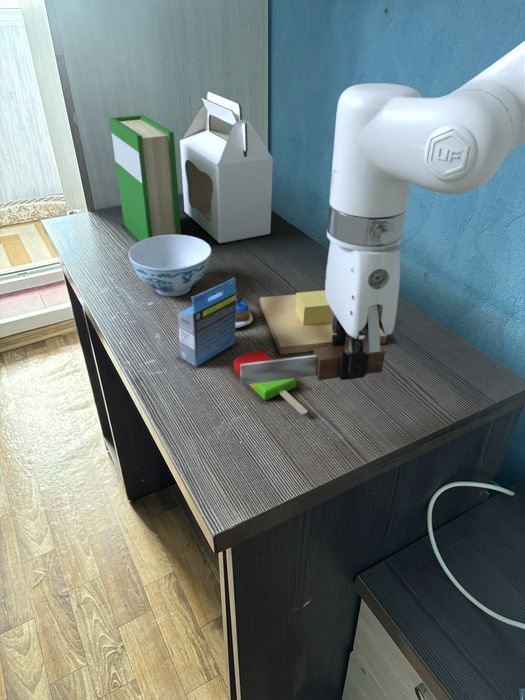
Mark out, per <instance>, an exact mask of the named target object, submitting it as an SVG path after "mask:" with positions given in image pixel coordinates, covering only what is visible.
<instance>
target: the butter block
mask: <svg viewBox="0 0 525 700" xmlns="http://www.w3.org/2000/svg"><path fill="white" fill-rule="evenodd" d="M295 294H296V308H295V310H296V312H297V314H298V316H299V318H300V320H301V322H302V324H303V325H310V324H320V323H330V322H333V315H334V314H333V311H332V309H331V308H330V306H329V304H328V302H327V300H326V296H325V289H324V290H313V291H302V292H301V291H300V292H296V293H295Z"/></svg>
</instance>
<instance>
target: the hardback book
mask: <svg viewBox="0 0 525 700" xmlns="http://www.w3.org/2000/svg"><path fill="white" fill-rule="evenodd" d="M108 119H109V126H110V133H111V141H112V147H113V148H112V149H113V155H114V162H115V168H116V175H117V183H118V191H119V199H120V205H121V213H122V219H123V226H124V227H125V228H126V229H127V230H128V231H129V233H131V234H132V236H134V237H135V239H136V240H137V241H138V242H140V241H142V240H144V239H147V238H151V237H155V236H161V235H182V229H181V228H182V226H181V213H180V199H179V185H178V173H177V160H176V159H177V158H176V147H175V133H174V131H172V130H170V129H169V128H167V127H166V126H164V125H162V124H160V123H158V122H156V121H154V120H152V119H151V118H149V117H147V116H146V115H144V114H137V115H126V116H115V117H114V116H113V117H109V118H108Z"/></svg>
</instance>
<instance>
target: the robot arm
mask: <svg viewBox="0 0 525 700" xmlns="http://www.w3.org/2000/svg"><path fill="white" fill-rule="evenodd" d="M335 114H336V116H335V127H334V139H333V140H334V141H333V153H332V166H331V179H330V189H329V203H328V214H327V215H328V216H327V226H326V227H327V228H326V237H327V239H328V240H329V247H328V253H327V254H328V255H327V262H326V271H325V282H324V283H325V284H324V288H325V289H324V290H325V296H326V300H327V302H328V304H329V306H330V308H331V309H332V311H333V314H334V315H333V324H332V330H333V333H334V334H336V333H337V335H332V345H331V346H340V345H345V350H341V359H340V368H339V377H340V378H339V379H340V380H341V381H347V380H354V379H362V378H364V377H366V376H367V374H366V371H367V364H368V357H369V354H375V353H380V345H381V344H380V331H379V328H380V329H381V330H382V332H383V333H384V334H385V335H387V336H389V335H392V334H393V332H394V330H395V325H396V320H397V319H396V318H397V311H398V303H399V293H400V281H401V248H400V246H399V245H400V244H401V243H402V239H403V233H404V227H405V221H406V215H407V209H408V208H407V207H408V204H409V197H410V191H411V185H414V186H417V187H420V188H423V189H426V190H429V191H432V192H436V193H440V194H443V195H445V194H446V195H460V194H466V193H470V192H472V191H475V190H477V189H479V188H480V187H482V186H484V185H485V184H486V183H488V182H489V180H491V179H492V178H493V176H495V174H496V173H497V172H498V170H499V168H500V167H501V166H502V164H503V162H504V160H505V159H506V157H507V155H508V153H509V152H511V151H513V150H514V149H515V148H517V147H518V146H520V145H521V144H523V143H525V40H524V41H523V42H521V43H520V44H518V45H517V46H516V47H515V48H513V49H511V50H510V51H509V52H507V53H506V54H505V55H503V56H502V57H500V58H499V59H498V60H496V61H495V62H493V64H491V65H489V66H488V67H487V68H485V69H484V70H483V71H481V72H480V73H478V74H477V75H476V76H474V77H473V78H472V79H470V80H469V81H467V82H466V83H465V84H463V85H461V86H460V87H459V88H457V89H455V90H453V91H452V92H450V93H449V94H446V95H441V96H439V97H422V95H421V93H420V92H419V91H418V90H417V89H415V88H414V87H411V86H408V85H403V84H398V83H396V84H395V83H387V82H386V83H385V82H383V83H382V82H371V83H370V82H369V83H359V84H354V85H352V86H349V87H347V88H346V89H345V90H344V91H342V93H341V94H340V96H339V97H338V102H337V107H336V113H335ZM362 335H364V340H359V336H362Z"/></svg>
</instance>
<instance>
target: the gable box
mask: <svg viewBox="0 0 525 700" xmlns="http://www.w3.org/2000/svg"><path fill="white" fill-rule="evenodd" d="M206 97H207V98H205V97H203V96H202V97H201V100H202V102H203V105H202V106H201V107H199V109H198V111H197V112H196V114H195V115H194V117H193V119H192V121H191V123H190V124H189V126H188V127H187V129H186V131H185V133H184V134H183V136H182V138H181V139H180V140H179V148H180V150H179V151H180V162H181V163H180V164H181V179H182V180H181V181H182V193H183V195H182V197H183V207H184V209H183V211H184V213H185V214H187V215H188V216H189V217H190V218H191V219H192V220H193V221H194V222H195V223H197V224H198V225H199V226H200V227H201V229H203V230H204V231H205V232H207V234H208V235H210V236H211V237H212V238H213V239H214V240H215V241H217V242H218V244H224V243H231V242H236V241H241V240H245V239H251V238H256V237H262V236H267V235H271V226H272V202H273V201H272V199H273V171H274V170H273V166H274V157H273V156H272V154H270V152H269V150H268V148H267V147H266V145H265V143H264V142H263V140H262V139H261V137H260V135H258V133H257V131H256V129H255V128H254V126H253V124H252V123H251V122H250V121H248V120H247V119H243V112H242V105H241V103H239V102H237V101H235V100H233V99H230V98H228V97H225V96H223V95H220V94H217V93H216V92H213V91H208V92H207V96H206ZM224 122H225V123H227V124H230V125H232V126H231V129H230V131H228V129H227V128H226V124H225V123H224Z"/></svg>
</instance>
